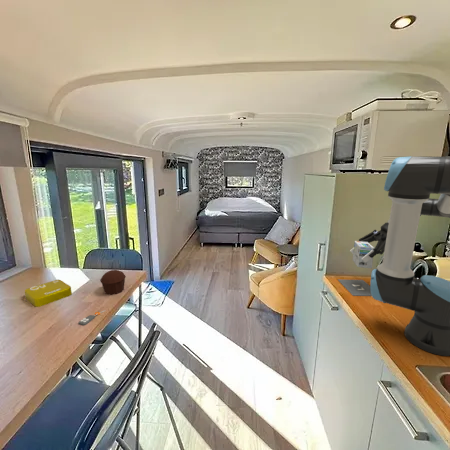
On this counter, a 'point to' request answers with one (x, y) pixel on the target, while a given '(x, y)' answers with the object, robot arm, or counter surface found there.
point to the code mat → (356, 287)
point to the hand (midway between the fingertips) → (357, 256)
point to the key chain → (88, 319)
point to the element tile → (47, 293)
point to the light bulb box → (362, 254)
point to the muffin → (113, 282)
